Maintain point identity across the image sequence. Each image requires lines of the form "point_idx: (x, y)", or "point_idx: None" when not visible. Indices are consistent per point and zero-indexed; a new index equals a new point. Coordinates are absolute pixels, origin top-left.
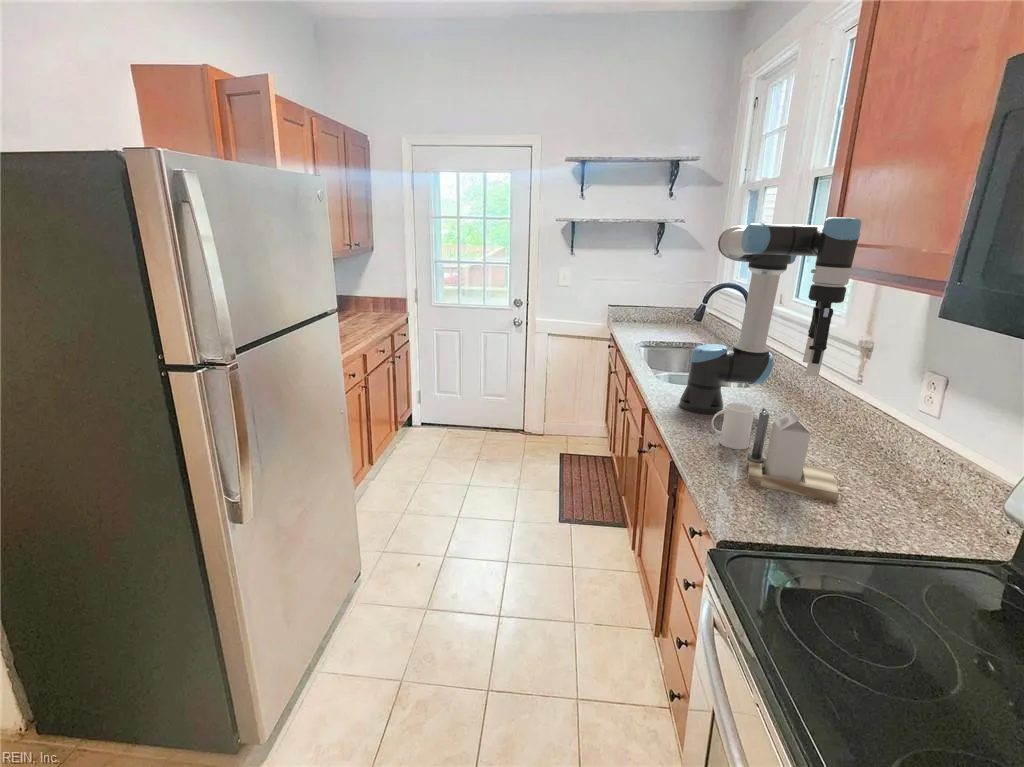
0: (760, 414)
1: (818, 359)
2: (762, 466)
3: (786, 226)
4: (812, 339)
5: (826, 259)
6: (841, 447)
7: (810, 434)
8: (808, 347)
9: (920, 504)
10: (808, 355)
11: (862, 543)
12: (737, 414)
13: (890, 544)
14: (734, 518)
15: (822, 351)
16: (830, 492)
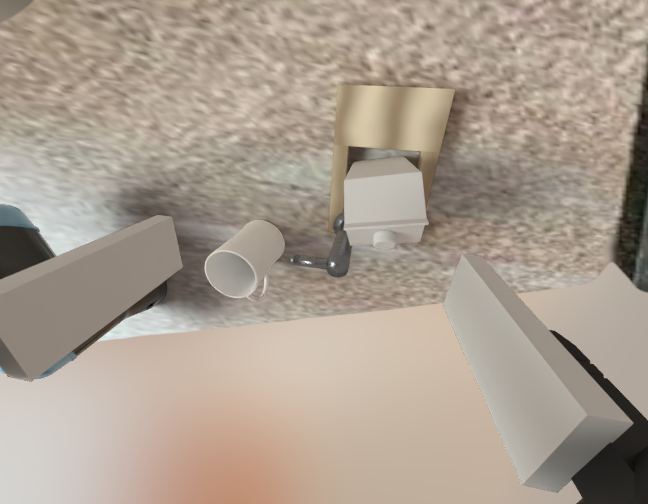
0: (342, 275)
1: (587, 371)
2: (343, 208)
3: None
4: (20, 348)
5: None
6: (153, 28)
7: (420, 172)
8: (104, 309)
9: None
10: (148, 270)
11: (617, 69)
12: (260, 277)
13: (621, 5)
14: (540, 264)
15: (611, 422)
16: (450, 106)
